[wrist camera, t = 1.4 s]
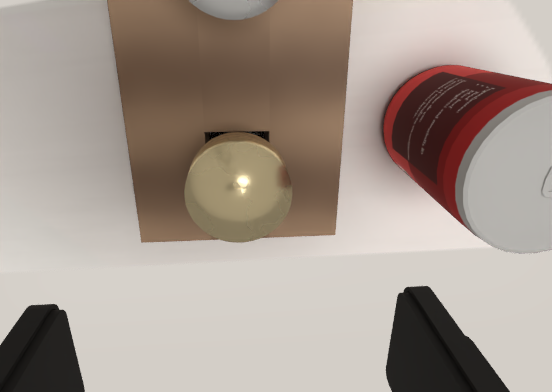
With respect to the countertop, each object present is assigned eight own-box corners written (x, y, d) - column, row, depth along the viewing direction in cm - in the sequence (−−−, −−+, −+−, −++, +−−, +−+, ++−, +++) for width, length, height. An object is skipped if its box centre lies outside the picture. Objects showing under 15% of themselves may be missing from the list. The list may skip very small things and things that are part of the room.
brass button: (192, 114, 23) (179, 144, 18) (279, 113, 24) (293, 142, 18) (198, 195, 25) (188, 244, 20) (278, 192, 26) (291, 240, 20)
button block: (108, -145, 20) (81, -180, 17) (343, -135, 22) (365, -166, 18) (153, 213, 28) (141, 242, 25) (322, 207, 29) (335, 234, 26)
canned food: (489, 163, 29) (622, 239, 19) (381, 183, 29) (459, 270, 19) (496, 53, 26) (659, 74, 16) (375, 74, 26) (464, 110, 16)
